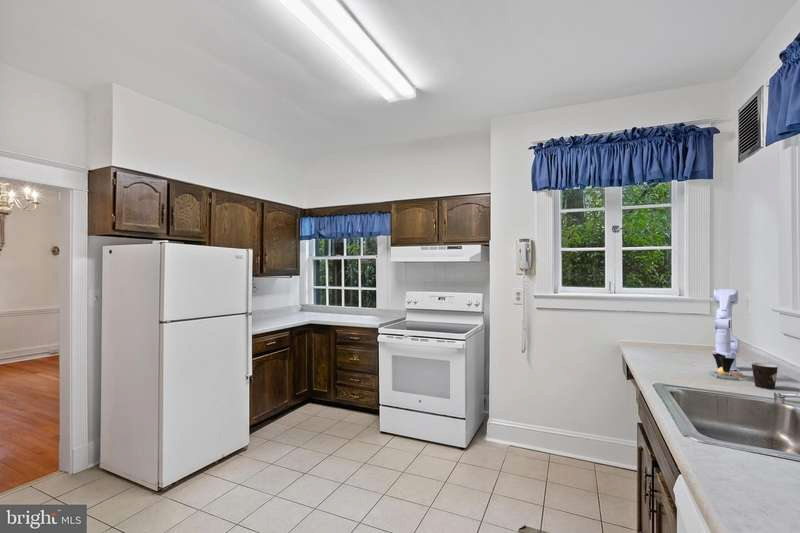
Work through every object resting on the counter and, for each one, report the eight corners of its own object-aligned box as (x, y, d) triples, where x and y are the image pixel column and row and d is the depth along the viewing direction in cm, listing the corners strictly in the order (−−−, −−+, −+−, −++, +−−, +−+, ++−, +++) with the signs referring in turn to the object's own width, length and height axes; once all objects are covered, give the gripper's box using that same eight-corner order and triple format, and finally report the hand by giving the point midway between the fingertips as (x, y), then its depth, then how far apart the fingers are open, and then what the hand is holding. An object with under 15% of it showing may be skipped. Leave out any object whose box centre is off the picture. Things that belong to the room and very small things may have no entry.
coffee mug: (766, 385, 175) (766, 363, 175) (783, 390, 167) (783, 367, 167) (739, 383, 176) (739, 362, 177) (755, 389, 168) (754, 366, 168)
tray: (710, 373, 195) (709, 371, 195) (729, 375, 192) (729, 372, 192) (717, 378, 186) (717, 375, 186) (737, 380, 183) (737, 377, 183)
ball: (716, 374, 192) (716, 365, 192) (727, 375, 190) (727, 366, 190) (719, 376, 188) (719, 367, 188) (731, 377, 186) (730, 368, 186)
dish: (718, 372, 199) (718, 369, 199) (739, 374, 196) (739, 371, 196) (725, 375, 192) (725, 373, 192) (746, 377, 188) (746, 374, 188)
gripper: (708, 340, 198) (708, 366, 197) (718, 344, 184) (718, 372, 184) (725, 341, 195) (725, 367, 194) (736, 345, 181) (737, 374, 181)
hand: (723, 370), depth 189 cm, fingers open, 7 cm apart
